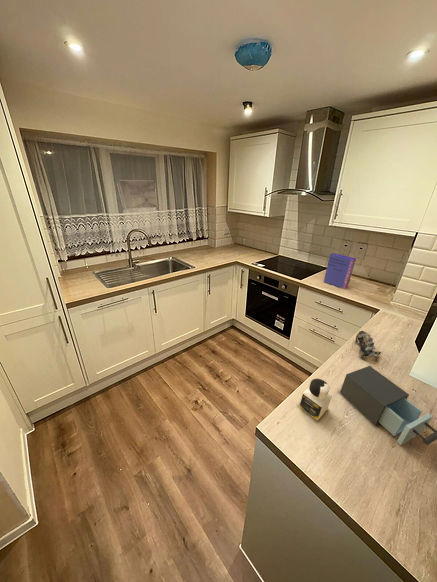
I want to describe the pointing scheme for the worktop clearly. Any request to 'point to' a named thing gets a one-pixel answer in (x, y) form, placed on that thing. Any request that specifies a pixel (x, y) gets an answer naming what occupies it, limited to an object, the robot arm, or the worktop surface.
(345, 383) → the dark grey drawer box
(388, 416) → the light blue drawer
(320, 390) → the medicine bottle
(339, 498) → the worktop surface
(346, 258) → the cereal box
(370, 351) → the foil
